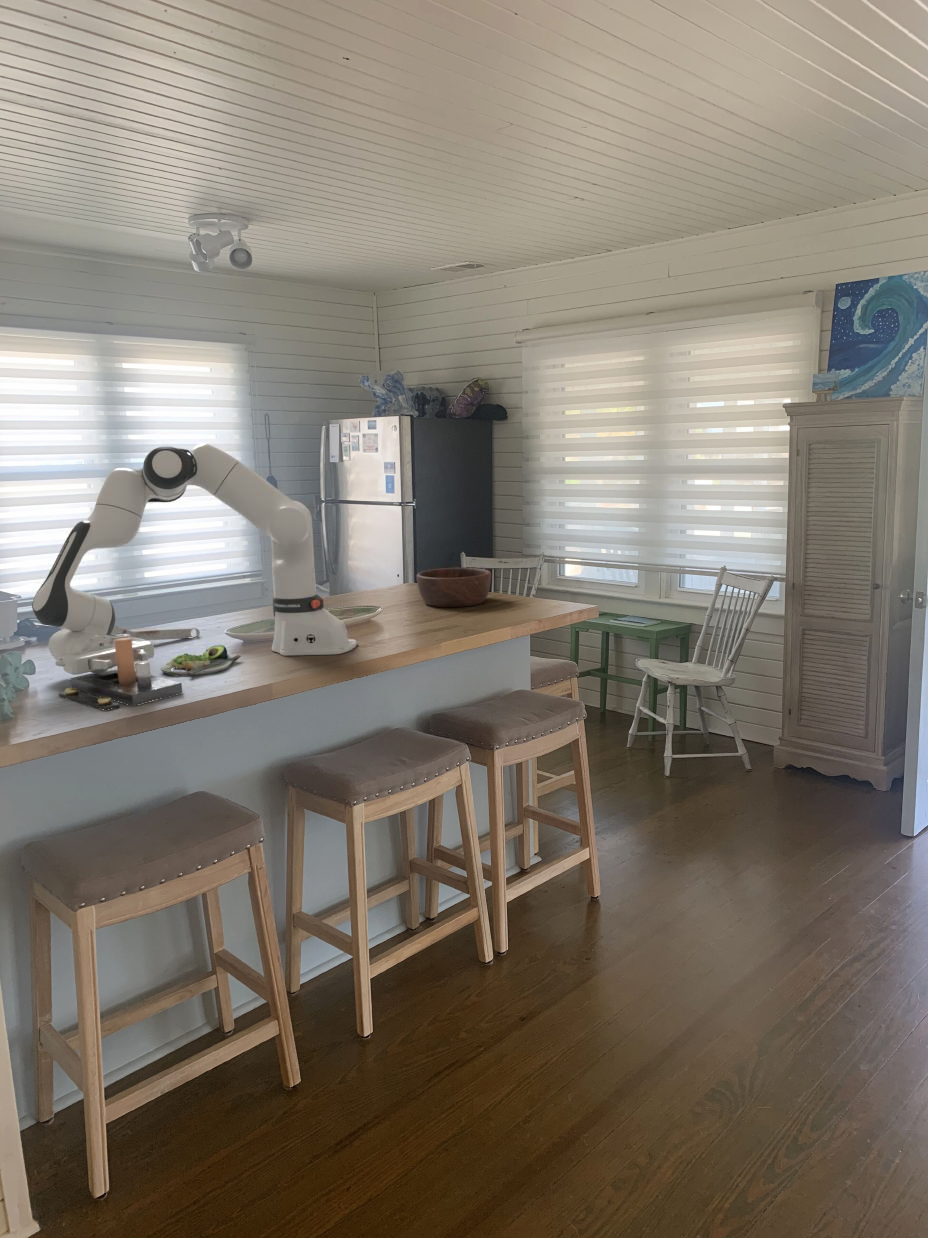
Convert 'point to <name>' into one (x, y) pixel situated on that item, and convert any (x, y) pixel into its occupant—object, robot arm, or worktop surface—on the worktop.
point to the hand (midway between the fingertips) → (127, 661)
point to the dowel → (125, 661)
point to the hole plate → (120, 688)
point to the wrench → (156, 633)
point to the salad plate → (201, 662)
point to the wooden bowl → (454, 586)
